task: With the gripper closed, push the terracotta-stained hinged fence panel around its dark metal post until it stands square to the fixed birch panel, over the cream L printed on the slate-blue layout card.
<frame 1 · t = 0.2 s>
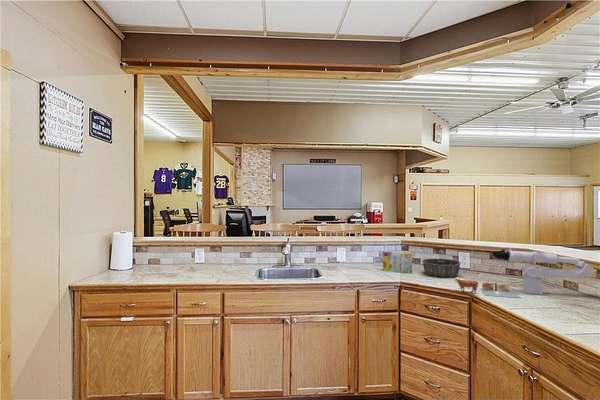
hand: (493, 254, 220), 21 cm above the worktop, tool horizontal, fingers open, 7 cm apart
fence hinged: (487, 286, 217), point 3 cm above the worktop, hinge at 0.0°
dark grey woven basket: (441, 275, 265), on the worktop
bull figurine: (465, 292, 216), on the worktop
fence fixed: (502, 292, 215), resting on layout card
snack box: (397, 272, 277), on the worktop
layout card: (500, 293, 212), on the worktop
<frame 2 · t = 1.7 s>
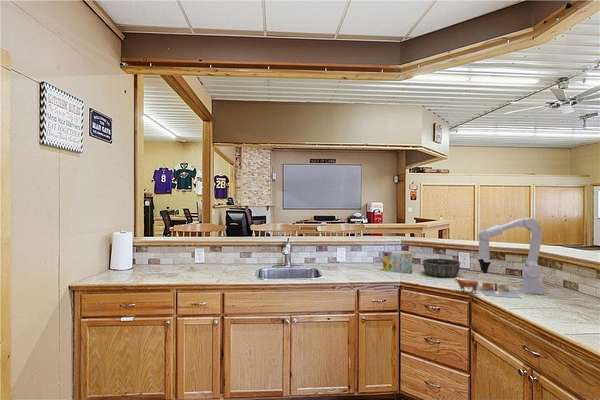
hand: (484, 272, 222), 10 cm above the worktop, tool pointing down, fingers open, 6 cm apart
nothing on the worktop moved.
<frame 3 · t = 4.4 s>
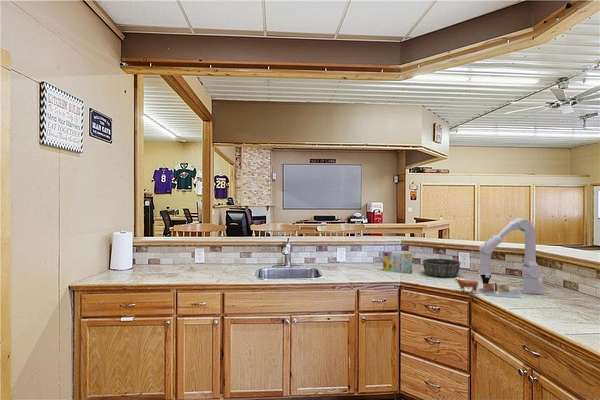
hand: (485, 287, 217), 2 cm above the worktop, tool pointing down, fingers closed, pressing on fence hinged
fence hinged: (488, 287, 216), point 3 cm above the worktop, hinge at 16.7°, touching gripper
everything else where it was.
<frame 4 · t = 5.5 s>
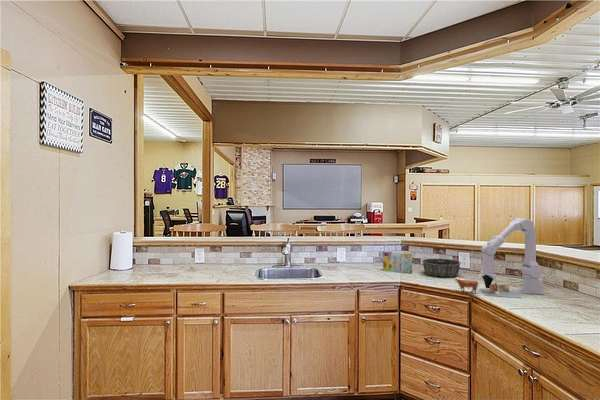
hand: (487, 288, 214), 3 cm above the worktop, tool pointing down, fingers closed, pressing on fence hinged
fence hinged: (492, 288, 213), point 3 cm above the worktop, hinge at 57.1°, touching gripper
everything else where it was.
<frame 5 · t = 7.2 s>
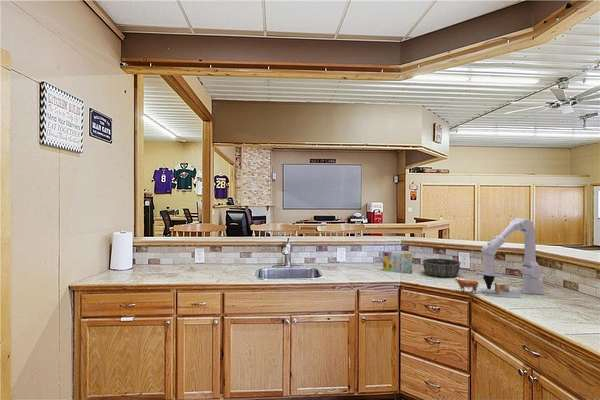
hand: (489, 288, 212), 3 cm above the worktop, tool pointing down, fingers closed
fence hinged: (497, 288, 212), point 3 cm above the worktop, hinge at 90.4°
everything else where it was.
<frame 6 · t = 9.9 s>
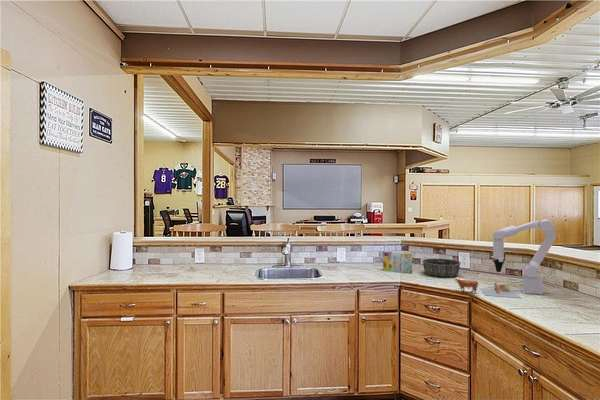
hand: (498, 271, 223), 10 cm above the worktop, tool pointing down, fingers closed
nothing on the worktop moved.
at the end: fence hinged at +90° (first picture: +0°); fence hinged touching nothing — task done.
